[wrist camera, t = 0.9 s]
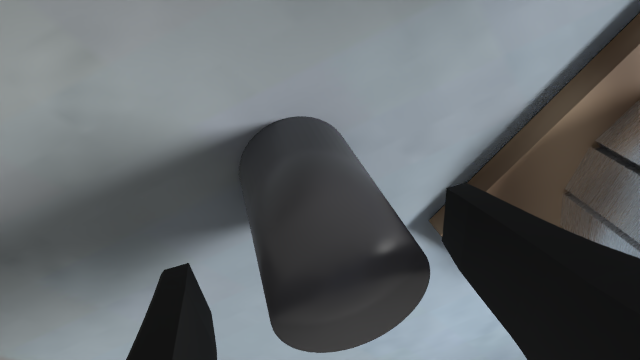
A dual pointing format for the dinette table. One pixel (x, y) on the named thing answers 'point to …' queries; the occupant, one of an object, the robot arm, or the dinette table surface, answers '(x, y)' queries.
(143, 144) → the dinette table surface
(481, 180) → the walnut board
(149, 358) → the robot arm
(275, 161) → the dark rounded capsule
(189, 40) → the dinette table surface
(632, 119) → the white faceted ring
